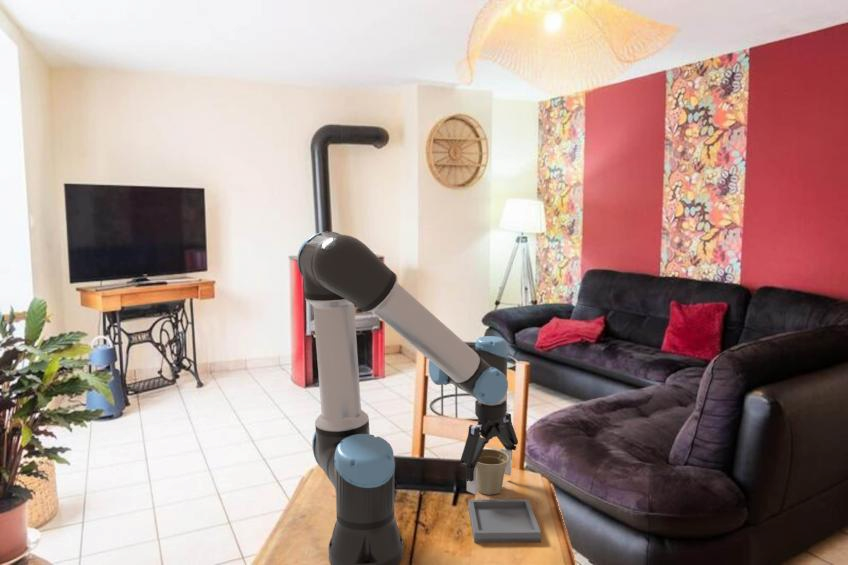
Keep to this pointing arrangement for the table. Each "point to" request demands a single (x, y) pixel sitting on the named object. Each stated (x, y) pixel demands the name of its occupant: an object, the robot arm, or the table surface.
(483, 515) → the plant tray
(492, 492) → the flower pot
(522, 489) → the table surface
